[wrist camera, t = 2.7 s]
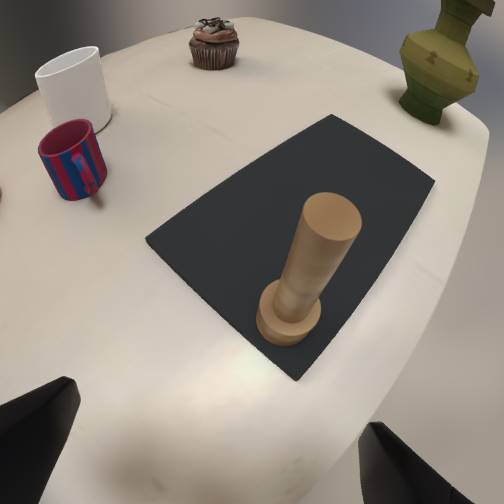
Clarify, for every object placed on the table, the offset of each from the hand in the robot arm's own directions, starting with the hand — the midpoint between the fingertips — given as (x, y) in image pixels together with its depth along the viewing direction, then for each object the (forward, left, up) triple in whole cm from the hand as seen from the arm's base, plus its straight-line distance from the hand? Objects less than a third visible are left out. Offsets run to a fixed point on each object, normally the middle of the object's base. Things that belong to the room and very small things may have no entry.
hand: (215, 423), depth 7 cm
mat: (+7, -22, -14) cm, 27 cm away
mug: (+43, -11, -14) cm, 47 cm away
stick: (+2, -9, -13) cm, 16 cm away
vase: (+7, -60, -14) cm, 62 cm away
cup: (+28, -5, -14) cm, 32 cm away
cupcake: (+43, -39, -14) cm, 60 cm away
